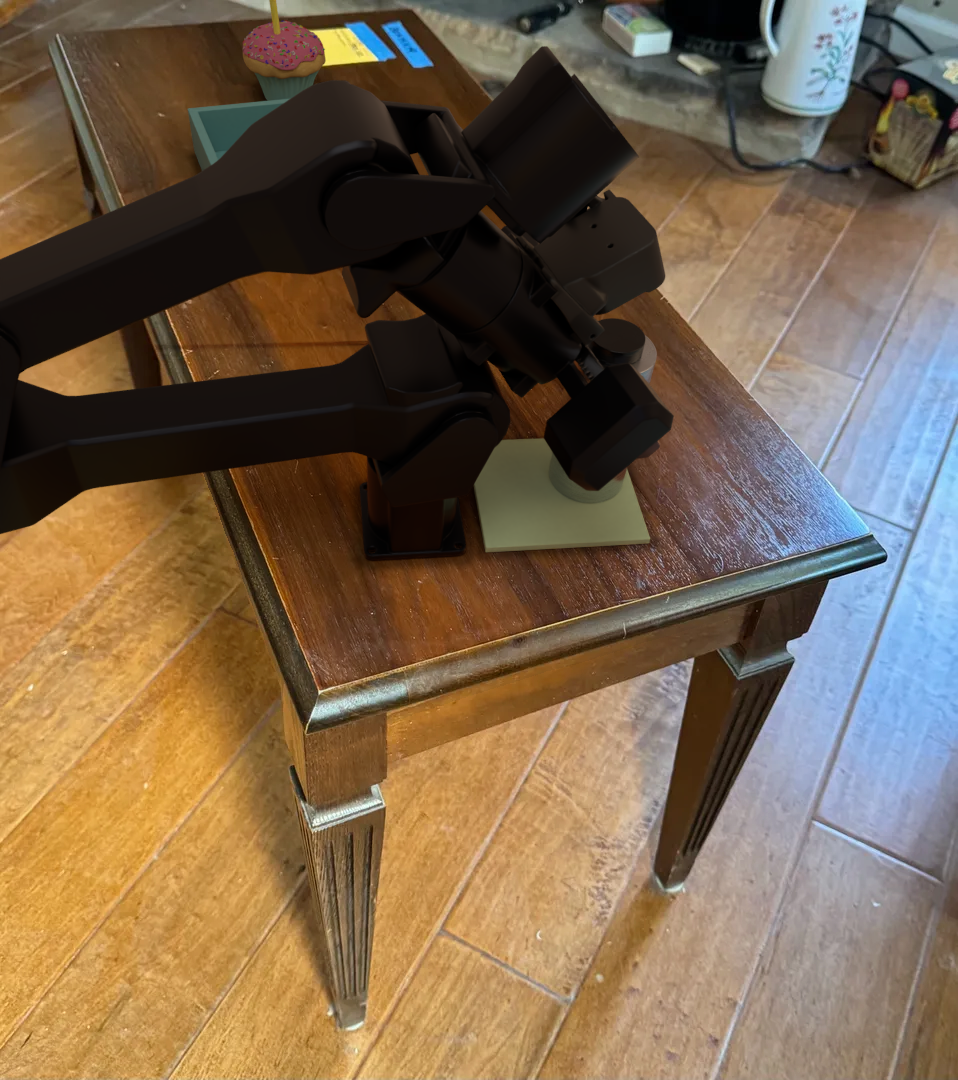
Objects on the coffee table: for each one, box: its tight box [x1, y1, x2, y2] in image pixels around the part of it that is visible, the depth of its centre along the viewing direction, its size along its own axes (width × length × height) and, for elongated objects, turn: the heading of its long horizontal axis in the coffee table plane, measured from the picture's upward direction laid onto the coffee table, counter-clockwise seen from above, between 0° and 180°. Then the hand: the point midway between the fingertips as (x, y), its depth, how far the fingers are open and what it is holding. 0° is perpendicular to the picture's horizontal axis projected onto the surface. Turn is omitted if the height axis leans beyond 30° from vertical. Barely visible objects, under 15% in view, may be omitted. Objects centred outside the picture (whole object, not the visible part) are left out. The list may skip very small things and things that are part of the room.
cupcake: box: [242, 0, 327, 101], centre depth 96 cm, size 9×8×12 cm
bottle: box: [549, 317, 658, 503], centre depth 61 cm, size 5×5×12 cm
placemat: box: [472, 437, 651, 553], centre depth 65 cm, size 10×11×1 cm
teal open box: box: [187, 99, 289, 171], centre depth 87 cm, size 16×13×5 cm
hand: (621, 406), depth 61 cm, fingers open, 8 cm apart
